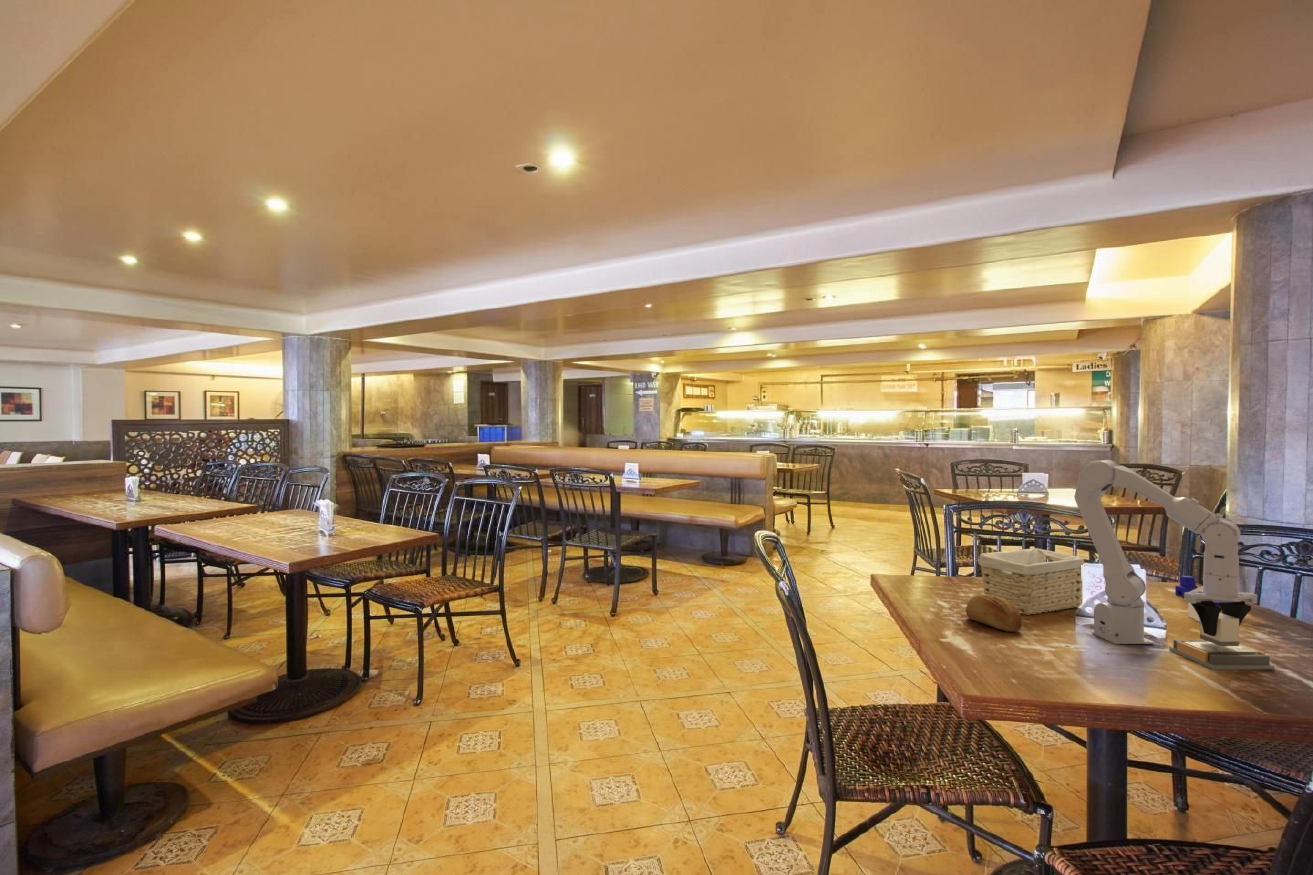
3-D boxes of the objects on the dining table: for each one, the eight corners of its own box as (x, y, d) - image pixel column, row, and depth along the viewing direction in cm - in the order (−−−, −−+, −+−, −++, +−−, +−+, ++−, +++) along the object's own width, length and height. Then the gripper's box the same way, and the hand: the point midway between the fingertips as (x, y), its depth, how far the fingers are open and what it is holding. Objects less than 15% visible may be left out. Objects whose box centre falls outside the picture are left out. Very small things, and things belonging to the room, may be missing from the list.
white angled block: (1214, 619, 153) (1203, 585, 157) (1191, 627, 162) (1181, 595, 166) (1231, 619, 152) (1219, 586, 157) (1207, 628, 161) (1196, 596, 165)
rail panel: (1213, 669, 128) (1213, 656, 128) (1169, 650, 139) (1169, 638, 139) (1274, 669, 128) (1274, 656, 128) (1225, 649, 139) (1225, 638, 139)
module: (1220, 646, 131) (1220, 618, 131) (1200, 638, 136) (1200, 611, 136) (1238, 646, 131) (1239, 618, 131) (1217, 638, 136) (1217, 611, 136)
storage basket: (1025, 618, 163) (1026, 564, 162) (976, 601, 178) (976, 552, 178) (1087, 608, 170) (1088, 557, 170) (1035, 594, 186) (1035, 546, 186)
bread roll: (1004, 637, 148) (1004, 605, 147) (955, 619, 162) (955, 590, 161) (1032, 632, 151) (1032, 601, 151) (981, 615, 165) (981, 586, 165)
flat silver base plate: (1207, 656, 130) (1207, 651, 130) (1183, 645, 136) (1183, 641, 136) (1257, 655, 130) (1257, 651, 130) (1231, 645, 136) (1231, 641, 136)
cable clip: (1175, 595, 184) (1175, 575, 184) (1189, 595, 184) (1189, 575, 184) (1212, 606, 172) (1213, 586, 172) (1227, 606, 172) (1228, 586, 172)
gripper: (1204, 578, 129) (1203, 640, 129) (1271, 578, 129) (1270, 640, 129) (1176, 570, 136) (1175, 629, 136) (1239, 570, 136) (1239, 629, 136)
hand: (1219, 634), depth 133 cm, fingers closed on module, 4 cm apart
